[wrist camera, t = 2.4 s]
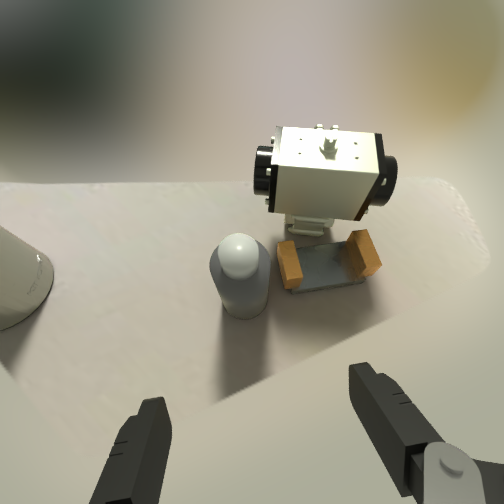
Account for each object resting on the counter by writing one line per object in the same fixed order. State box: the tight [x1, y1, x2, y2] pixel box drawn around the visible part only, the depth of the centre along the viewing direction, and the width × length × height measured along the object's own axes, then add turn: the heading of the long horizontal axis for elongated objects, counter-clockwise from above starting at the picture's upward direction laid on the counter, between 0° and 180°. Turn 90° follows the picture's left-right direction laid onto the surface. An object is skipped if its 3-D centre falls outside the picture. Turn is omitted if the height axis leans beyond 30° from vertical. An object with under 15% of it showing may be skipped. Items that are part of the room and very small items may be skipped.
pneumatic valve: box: [254, 124, 398, 237], centre depth 26 cm, size 6×12×12 cm, turn 82°
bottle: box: [210, 233, 271, 319], centre depth 22 cm, size 5×5×10 cm
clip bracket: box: [277, 229, 382, 294], centre depth 27 cm, size 9×5×4 cm, turn 99°
